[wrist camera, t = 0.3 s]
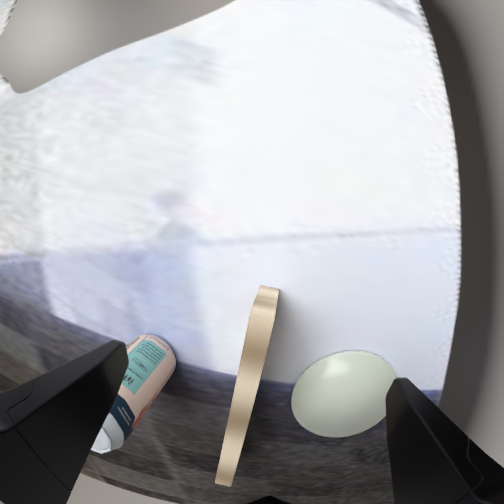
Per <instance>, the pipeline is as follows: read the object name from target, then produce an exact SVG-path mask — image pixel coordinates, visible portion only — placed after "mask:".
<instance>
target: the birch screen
mask: <svg viewBox="0 0 504 504" xmlns="http://www.w3.org/2000/svg"><path fill="white" fill-rule="evenodd" d="M278 294H279V289H277V288H272V287H267V286H262V285H260V288H259V290H258V293H257V296H256V298H255V301H254V304H253V306H252V309H251V312H250V316H249V321H248V326H247V331H246V336H245V341H244V346H243V351H242V356H241V361H240V366H239V370H238V375H237V380H236V385H235V390H234V395H233V399H232V404H231V409H230V414H229V418H228V423H227V428H226V433H225V437H224V442H223V447H222V451H221V456H220V461H219V465H218V470H217V475H216V479H215V483H218V484H222V485H226V486H231V484H232V481H233V477H234V474H235V470H236V467H237V463H238V460H239V456H240V453H241V449H242V446H243V442H244V438H245V435H246V431H247V427H248V424H249V420H250V416H251V412H252V409H253V405H254V401H255V397H256V393H257V389H258V385H259V381H260V378H261V374H262V370H263V365H264V361H265V357H266V353H267V349H268V345H269V341H270V337H271V332H272V328H273V324H274V320H275V314H276V308H277V301H278Z"/></svg>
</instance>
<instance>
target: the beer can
mask: <svg viewBox="0 0 504 504" xmlns="http://www.w3.org/2000/svg"><path fill="white" fill-rule="evenodd" d="M126 349H127V354H128V358H129V365H128V368H127V371H126V373H125V376H124V378H123V381H122V384H121V386H120V389H119V392H118V394H117V397H116V399H115V402H114V404H113V406H112V408H111V410H110V412H109V414H108V416H107V418H106V420H105V422H104V424H103V426H102V428H101V430H100V432H99V434H98V436H97V438H96V440H95V442H94V444H93V446H92V448H91V450H93V451H95V452H98V453H101V454H102V453H105V452H109V451H111V450H114V449H118V448H120V447H121V446H122V445H123V444H124V442H125V441H126V440H127V438H128V437H129V435H130V434H131V432H132V431H133V430H134V428H135V427H136V425H137V424H138V422H139V421H140V419H141V418H142V417H143V415H144V414H145V412H146V411H147V409H148V408H149V407H150V405H151V404H152V402H153V401H154V399H155V398H156V397H157V395H158V394H159V392H160V391H161V389H162V388H163V386H164V385H165V384H166V382H167V381H168V379H169V378H170V376H171V375H172V374H173V372H174V370H175V367H176V358H175V355H174V352H173V351H172V349H171V347H170V346H169V345H168V344H167V343H166V342H165V341H164V340H162V339H161V338H159V337H157V336H155V335H152V334H141V335H138V336H137V337H135V338H134V339H133V340H132V341H131V342H130V343H129V344H128V345H127V346H126Z"/></svg>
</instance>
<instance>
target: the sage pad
mask: <svg viewBox="0 0 504 504" xmlns="http://www.w3.org/2000/svg"><path fill="white" fill-rule="evenodd" d="M395 378H397V377H396V374H395V372H394V371H393V369H392V367H391V366H390V364H389V363H388V362H387V361H386V360H385V359H384V358H382V357H380V356H379V355H376V354H374V353H371V352H368V351H362V350H347V351H341V352H336V353H333V354H330V355H327V356H325V357H323V358H321V359H319V360H317V361H316V362H314V363H313V364H311V365H310V366H309V367H308V368H307V369H306V370H305V371H304V372H303V373H302V374H301V375H300V376H299V378H298V379H297V381H296V383H295V385H294V388H293V391H292V397H291V406H292V411H293V414H294V416H295V418H296V420H297V421H298V422H299V423H300V425H301V426H303V427H304V428H305V429H307V430H308V431H310V432H312V433H314V434H317V435H320V436H325V437H346V436H351V435H355V434H358V433H361V432H363V431H365V430H367V429H369V428H371V427H373V426H374V425H376V424H377V423H378V422H380V421H381V420H382V419H383V418H384V417H385V416H386V403H385V398H386V394H387V392H388V390H389V388H390V386H391V384H392V382H393V380H394V379H395Z"/></svg>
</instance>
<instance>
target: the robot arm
mask: <svg viewBox="0 0 504 504" xmlns="http://www.w3.org/2000/svg"><path fill="white" fill-rule="evenodd" d="M128 365H129V358H128V354H127V349H126V345H125V343H124V342H121V341H118V340H112V341H110V342H108V343H106V344H104V345H102V346H100V347H98V348H96V349H94V350H91V351H89V352H87V353H85V354H83V355H81V356H79V357H77V358H75V359H73V360H71V361H69V362H67V363H65V364H63V365H61V366H59V367H57V368H55V369H53V370H51V371H48V372H46V373H44V374H42V375H40V376H38V377H36V378H35V379H32V380H30V381H27V382H25V383H23V384H21V385H19V386H16V387H14V388H11V389H9V390H6V391H4V392H1V393H0V504H66V503H67V501H68V499H69V496H70V494H71V492H70V491H72V489H73V487H74V485H75V482H76V480H77V478H78V476H79V474H80V472H81V469H82V467H83V465H84V463H85V461H86V459H87V457H88V454H89V452H90V450H91V448H92V446H93V444H94V442H95V440H96V438H97V436H98V434H99V432H100V430H101V428H102V426H103V424H104V422H105V420H106V418H107V416H108V414H109V412H110V410H111V408H112V406H113V404H114V402H115V399H116V397H117V394H118V392H119V389H120V386H121V384H122V381H123V378H124V376H125V373H126V371H127V368H128ZM385 403H386V425H387V442H388V449H389V457H390V465H391V473H392V483H393V493H394V504H504V468H503V467H502V466H501V465H499V464H498V463H497V462H496V461H494V460H493V459H492V458H490V456H488V455H487V454H486V453H485V452H484V451H483V450H481V449H480V448H479V447H478V446H477V445H476V444H475V443H474V442H473V441H472V440H471V439H469V438H468V436H467V435H466V434H465V433H464V432H463V431H462V430H461V429H460V428H459V427H458V426H456V424H454V423H453V422H452V421H451V420H450V419H449V418H448V417H447V416H446V415H445V414H444V413H443V412H442V411H441V410H440V409H439V408H438V407H437V406H436V405H435V404H434V403H433V402H432V401H431V400H430V399H429V398H428V397H426V396H425V395H424V394H423V393H422V392H421V391H420V390H419V389H418V388H417V387H416V386H415V385H414V384H413V383H412V382H411V381H410V380H409V379H407V378H395V379H394V380H393V382H392V384H391V386H390V388H389V390H388V392H387V394H386V398H385ZM249 504H285V503H283V502H281V501H279V500H277V499H275V498H273V497H271V496H267V497H264V498H262V499H259V500H257V501H254V502H251V503H249Z"/></svg>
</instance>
